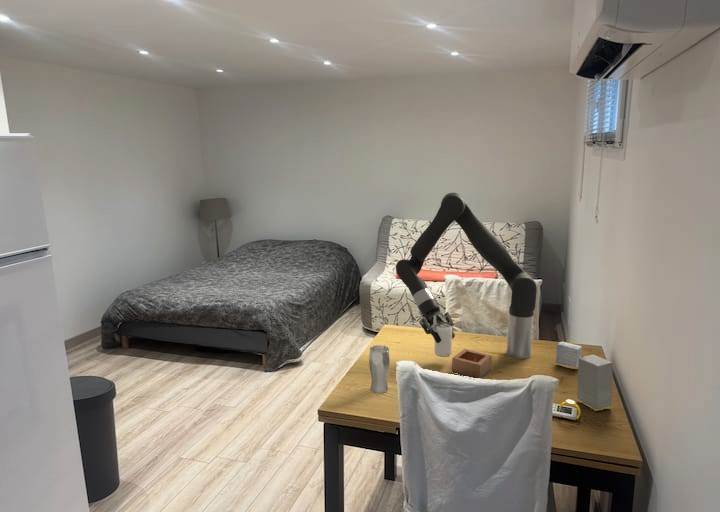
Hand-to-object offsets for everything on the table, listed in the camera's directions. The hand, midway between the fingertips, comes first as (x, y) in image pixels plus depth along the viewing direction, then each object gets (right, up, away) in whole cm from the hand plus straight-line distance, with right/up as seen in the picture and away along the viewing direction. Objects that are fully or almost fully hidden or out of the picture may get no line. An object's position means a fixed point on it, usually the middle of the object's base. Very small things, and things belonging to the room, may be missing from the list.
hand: (446, 339), depth 190 cm
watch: (+31, -18, -37) cm, 51 cm away
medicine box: (+47, -11, +1) cm, 48 cm away
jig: (+9, -11, -4) cm, 15 cm away
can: (-1, -6, +3) cm, 7 cm away
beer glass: (-26, -14, -18) cm, 35 cm away
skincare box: (+42, -17, -28) cm, 53 cm away
